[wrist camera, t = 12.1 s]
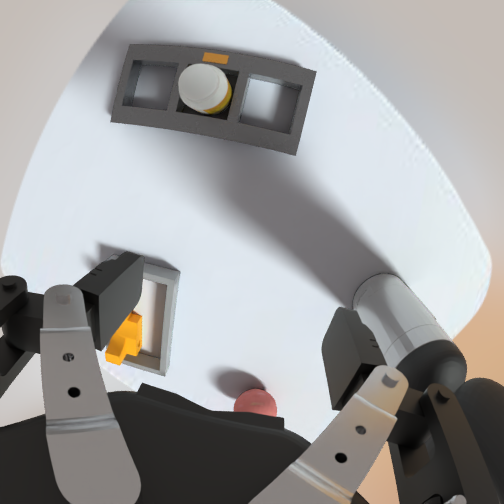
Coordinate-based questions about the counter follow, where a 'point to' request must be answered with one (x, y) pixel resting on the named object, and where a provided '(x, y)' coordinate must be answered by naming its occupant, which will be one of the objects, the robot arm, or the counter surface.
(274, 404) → the apple
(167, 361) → the clamp tray
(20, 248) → the counter surface
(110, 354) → the pipe clamp
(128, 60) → the three-compartment grey tray
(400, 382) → the robot arm
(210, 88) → the supplement bottle
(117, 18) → the counter surface
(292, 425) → the counter surface
